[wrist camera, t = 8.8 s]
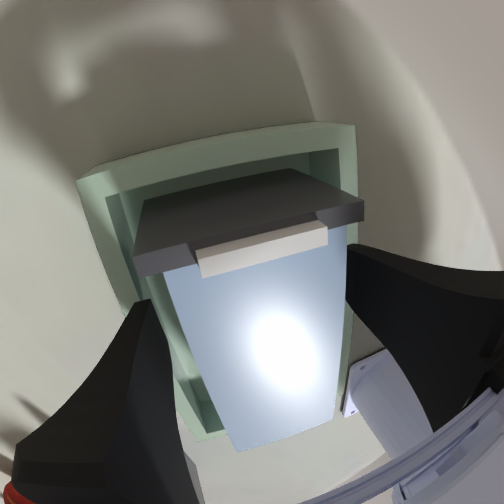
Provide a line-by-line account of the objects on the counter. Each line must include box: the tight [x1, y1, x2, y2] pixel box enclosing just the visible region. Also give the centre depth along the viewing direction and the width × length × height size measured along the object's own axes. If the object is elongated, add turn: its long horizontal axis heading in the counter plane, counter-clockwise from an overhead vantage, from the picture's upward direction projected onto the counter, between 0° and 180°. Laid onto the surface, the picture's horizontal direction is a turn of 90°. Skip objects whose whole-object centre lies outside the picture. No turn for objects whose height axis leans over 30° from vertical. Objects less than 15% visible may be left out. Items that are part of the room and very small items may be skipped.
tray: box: [76, 122, 358, 442], centre depth 14 cm, size 10×16×3 cm, turn 8°
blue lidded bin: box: [132, 168, 364, 452], centre depth 12 cm, size 6×11×6 cm, turn 8°
